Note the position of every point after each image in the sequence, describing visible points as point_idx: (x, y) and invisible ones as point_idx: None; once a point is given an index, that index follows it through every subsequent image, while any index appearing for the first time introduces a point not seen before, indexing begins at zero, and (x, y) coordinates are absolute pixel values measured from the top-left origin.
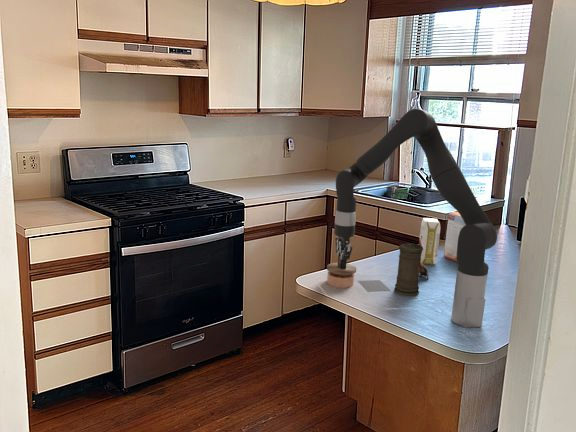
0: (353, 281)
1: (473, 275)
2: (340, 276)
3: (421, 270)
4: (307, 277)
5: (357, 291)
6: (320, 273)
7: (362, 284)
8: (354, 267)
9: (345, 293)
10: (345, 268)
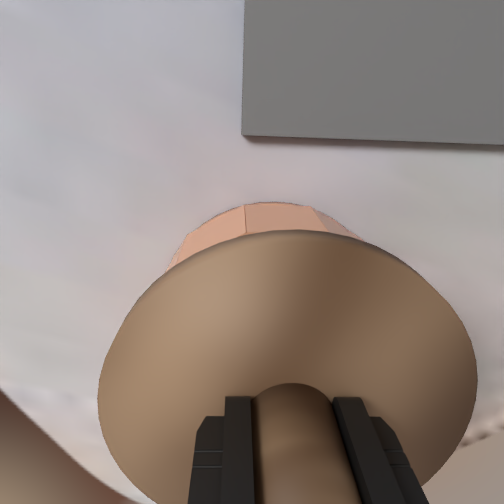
0: (338, 227)
1: None
2: None
3: None
4: (120, 471)
5: (462, 226)
6: (24, 380)
7: (349, 126)
8: (327, 267)
9: (465, 327)
10: (356, 398)
